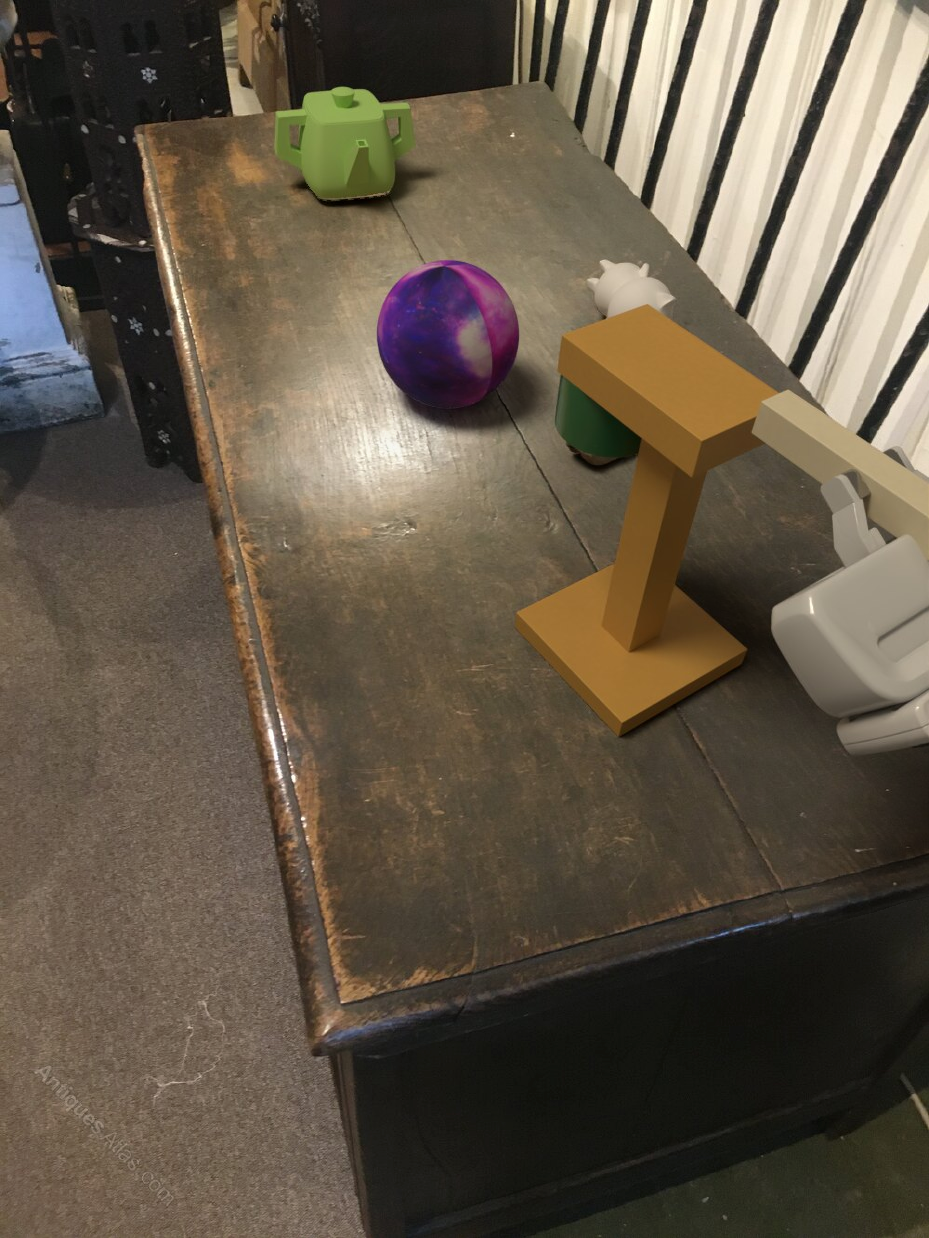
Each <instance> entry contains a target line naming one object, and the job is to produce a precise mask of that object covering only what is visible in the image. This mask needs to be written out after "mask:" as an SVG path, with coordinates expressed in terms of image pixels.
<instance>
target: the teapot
mask: <svg viewBox="0 0 929 1238" xmlns="http://www.w3.org/2000/svg"><path fill="white" fill-rule="evenodd" d="M303 96H304V97H303V100H302V104H301V105H302V106H301V108H300V109H289V110H287V109H286V110H277V111H275V113H274V114H275V116H274V141H273V143H274V144H273V151H274V154H275V155H276V157H277V159H278V158H279V159H280V160H282V161H284V162H286V163H288V164H290V165H292V166H294V167H296V168H297V169H300V172H301V174H302V177H303V179H304V181H305V183H306V185H307V184H308V185H307V187H308V186H309V187H310V188H309V187H308V188H309V190H310V189H311V190H312V191H313V192H314V193H315V194H316V195H317V196H320V197H323V198H342V197H343V198H346V197H357V196H367V195H373V194H378V193H384V192H387V191H389V190H391V191H392V189H393V187H394V184H395V180H396V164H395V161H397V160H399V159H400V158H401V157H402V156H405V155H406V154H407V153H408V152H409V151H411V150H412V149H414V148H415V147H416V139H415V131H414V125H413V124H414V123H413V116H412V108H411V107H410V104H409V102H391V103H380V101H379V100H378V99H377V98H376V96H375V95H374V94H373V93H372V92H371V91H369V90H367V89H365V88H356V89H353V88H351V87H347V86H338V87H333V88H332V89H331V90H324V91H323V90H321V91H311V92H307V93H306V94H305V95H303ZM396 118H397V123H398V134H396V135H395V136H394V137H391V133H390V130H389V126H388V123H387V120H391V119H396ZM290 126H298V141H297V142H298V144H297V145H294V144H292V143H291V131H290ZM391 188H392V189H391ZM311 190H310V191H311ZM312 191H311V192H312ZM313 192H312V193H313ZM388 195H389V194H387V195H384V196H385V197H386V196H388ZM384 196H383V197H384ZM379 197H380V196H377V197H376V198H379ZM316 198H317V199H319V198H318V197H316ZM371 198H373V197H369V198H368V199H371ZM361 199H364V198H360V199H359V200H361ZM351 200H353V199H348V200H347V201H351ZM323 201H325V202H328V201H327V200H323ZM336 201H339V200H331V201H330V202H336Z"/></svg>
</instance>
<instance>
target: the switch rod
mask: <svg viewBox="0 0 929 1238" xmlns="http://www.w3.org/2000/svg"><path fill="white" fill-rule="evenodd" d="M778 393H779V394H777V395H775V396H772V397H770V398H768V399H766V400H763V401H762V402H761V404H760V408H759V411H758V414H757V417H756V420H755V423H754V426H753V430H752V434H753V435H755V436H756V437H758V438H759V439H760V440H762V441H763V442H764V443H765V445H767V446H769V447H770V448H771V449H772V450H774V451H776V452H777V453H778V454H780V455H781V456H782V457H783V458H785V459H787V460H788V461H789V462H791V463H792V464H793V465H795V466H796V467H797V468H799V469H800V470H802V471H803V472H804V473H806V474H807V475H809V476H810V477H812V478H813V479H814V480H816V481H817V482H819V483H820V484H821V485H822V484H824V483H825V482H827V481H829V480H830V479H832V478H834V477H836V476H838V475H840V474H842V473H844V472H846V471H848V470H850V469H855V470H857V471H858V472H859V473H860V475H861V481H863V482H864V483H866V485H867V487H868V488H869V490H870V492H871V493H870V494H869V495H867V496H865V497H863V498H862V499H863V503H864V509H865V514H866V518H867V519H870V520H871V521H873V523H875V524H877V525H878V526H880V527H881V528H882V529H884V530H885V531H886V532H887V533H889V534H891V535H892V536H893V537H896V538H899V537H901V536H903V535H905V534H907V535H910V536H911V537H912V538H913V539H914V540H915V542H916V543H917V544H918V546H919V547H920V549H921V551H922V553H923V554H924V556H925V558H926V559H927V560H928V561H929V483H928V482H926V481H925V480H923V479H922V478H920V477H919V476H917V475H916V474H914V473H913V472H911V471H910V470H908V469H907V468H905V467H904V466H902V465H901V464H899V463H898V462H896V461H895V460H893V459H892V458H890V457H889V456H887V455H886V454H884V453H883V452H884V451H882V450H880V449H878V448H876V446H874V445H872V444H871V443H869V442H868V441H866V440H865V439H863V438H862V437H861V436H859V435H857V434H856V433H855V432H853V431H851V430H850V429H848V428H847V427H845V426H844V425H842V424H841V423H840V422H838V421H837V420H835V419H833V418H832V417H831V416H829V415H828V414H826V413H824V412H823V411H821V410H820V409H818V408H817V407H816V406H814V405H812V404H811V403H810V402H808V401H806V400H805V399H803V397H801V396H799V395H797V394H796V393H794V392H793V391H792V390H790V389H785V390H783V391H782V392H778Z"/></svg>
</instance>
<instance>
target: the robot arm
mask: <svg viewBox="0 0 929 1238" xmlns="http://www.w3.org/2000/svg"><path fill="white" fill-rule="evenodd" d="M882 452H883V453H884V454H886V455H887V456H889V457H890V458H892V459H893V460H895V461H896V462H898V463H899V464H901V465H902V466H904V467H905V468H907V469H908V470H910V471H911V472H913V473H914V474H916V475H917V476H919V477H920V478H922V479H923V480H925V481H926V482H928V483H929V476H927V475H926V474H924V473H923V472H921V471H920V470H919V469H915V468H914V466H913V464H912V463H911V461H910V459H909V457H908V456H907V454H906V453H905V451H904V449H903V448H901V447H900V446H898V445H893V446H892V447H890V448H888V449H886V450H884V451H882ZM819 489H820V494H821V495H822V497H823V499H824V500H825V502H826V504H827V506H828V508H829V509H830V511H831V512H832V514H831V519H832V535H833V536H832V537H833V549H834V551H835V552H836V554H837V555H838V557H839V559H840V560H841V563H842V564H843V566H841V567H840V568H838V569H836V570H835V571H833V572H830V573H829V574H827V575H826V576H824V577H822V578H820V579H819V580H817V581H815V582H814V583H812V584H809V586H807V587H805V588H803V589H801V590H800V591H798V592H796V593H794V594H793V595H791V596H789V597H788V598H786V599H783V600H782V601H780V602H779V603H777V604H775V605H774V606H773V607H772V609H771V620H770V621H771V624H770V627H771V628H770V630H771V634H772V637H773V639H774V641H775V643H776V645H777V647H778V648H779V650H780V652H781V654H782V656H783V657H784V659H785V661H786V662H787V664H788V666H789V668H790V669H791V671H792V672H793V674H794V675H795V677H796V678H797V680H798V681H799V683H800V685H801V686H802V687H803V689H804V691H805V692H806V693H807V695H808V697H810V699H811V700H812V702H813V703H815V705H816V706H817V707H818V708H819V709H820V710H821V711H823V712H824V713H825V714H827V715H828V716H831V717H834V718H840V720H839V722H838V723H837V724H836V733H837V737H838V739H839V741H840V743H841V745H842V746H843V748H844V749H845V750H846V752H847V753H849V754H850V755H851V756H863V755H872V754H880V753H887V752H892V751H898V750H903V749H908V748H912V749H917V748H924V747H929V561H928V560H927V559H926V558H925V556H924V554H923V553H922V551H921V549H920V547H919V546H918V544H917V543H916V542H915V540H914V539H913V538H912V537H911V536H910V535H907V534H905V535H903V536H901V537H899V538H896V537H895V536H893V537H891V538H890V539H888V540H887V541H885V539H884V537H883V536H882V534H881V533H880V531H879V530H878V528H877V527H875V526H874V527H872V528H870V529H869V525H868V520H867V516H866V514H865V509H864V503H863V499H862V498H863V497H865V496H867V495H869V494H870V493H871V492H870V490H869V488H868V487H867V485H866V483H864V482H863V481H861V475H860V473H859V472H858V471H857V470H855V469H850V470H848V471H846V472H844V473H842V474H840V475H838V476H836V477H834V478H832V479H830V480H829V481H827V482H825V483H824V484H821V485H820V488H819Z"/></svg>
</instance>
